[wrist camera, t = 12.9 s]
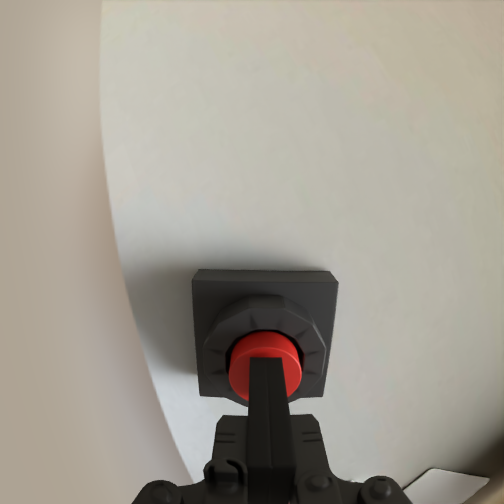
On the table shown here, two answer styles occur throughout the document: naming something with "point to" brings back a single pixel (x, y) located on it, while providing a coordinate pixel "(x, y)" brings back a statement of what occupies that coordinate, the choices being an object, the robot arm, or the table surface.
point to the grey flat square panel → (443, 487)
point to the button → (263, 347)
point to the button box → (262, 322)
